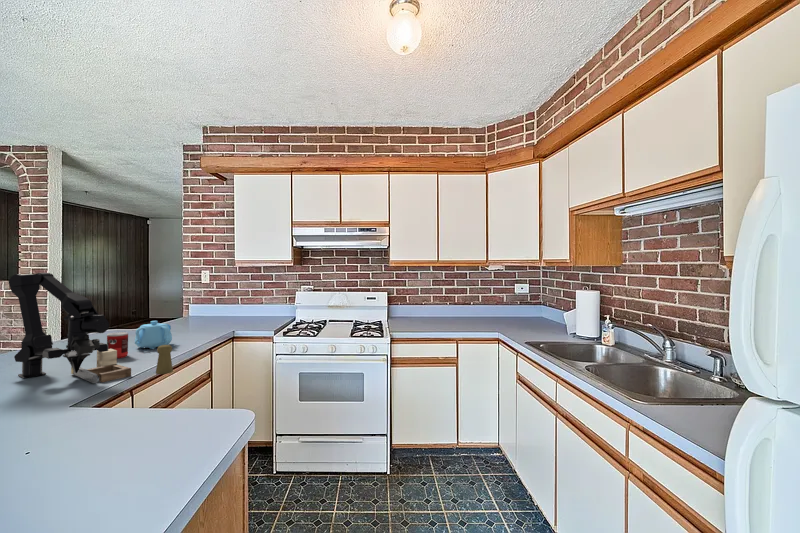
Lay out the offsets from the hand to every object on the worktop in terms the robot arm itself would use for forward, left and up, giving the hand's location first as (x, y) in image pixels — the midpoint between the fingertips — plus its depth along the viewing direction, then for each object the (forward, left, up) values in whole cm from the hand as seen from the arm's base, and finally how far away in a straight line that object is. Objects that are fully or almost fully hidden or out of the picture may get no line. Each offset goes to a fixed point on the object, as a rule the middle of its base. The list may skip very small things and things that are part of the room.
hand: (75, 373), depth 148 cm
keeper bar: (+3, +1, -2) cm, 4 cm away
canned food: (-24, +25, -2) cm, 35 cm away
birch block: (-4, +12, -2) cm, 13 cm away
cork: (+18, +23, -2) cm, 29 cm away
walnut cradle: (+7, +7, -2) cm, 10 cm away
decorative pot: (-33, +46, -2) cm, 57 cm away
